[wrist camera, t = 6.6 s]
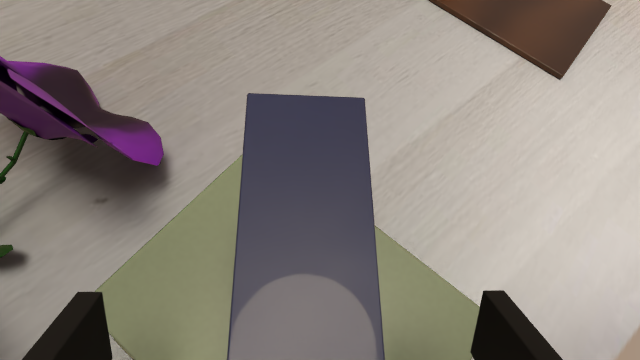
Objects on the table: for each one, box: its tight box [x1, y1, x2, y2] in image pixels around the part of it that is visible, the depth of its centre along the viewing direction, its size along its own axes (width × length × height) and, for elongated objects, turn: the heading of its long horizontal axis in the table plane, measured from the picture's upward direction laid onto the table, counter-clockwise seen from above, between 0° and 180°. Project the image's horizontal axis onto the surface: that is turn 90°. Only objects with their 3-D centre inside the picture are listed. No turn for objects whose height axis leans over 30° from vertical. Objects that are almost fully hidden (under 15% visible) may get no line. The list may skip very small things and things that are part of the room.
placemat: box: [429, 0, 611, 79], centre depth 39 cm, size 14×12×1 cm
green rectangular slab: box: [95, 154, 480, 360], centre depth 23 cm, size 18×15×3 cm
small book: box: [227, 93, 385, 360], centre depth 17 cm, size 4×11×12 cm, turn 1°
